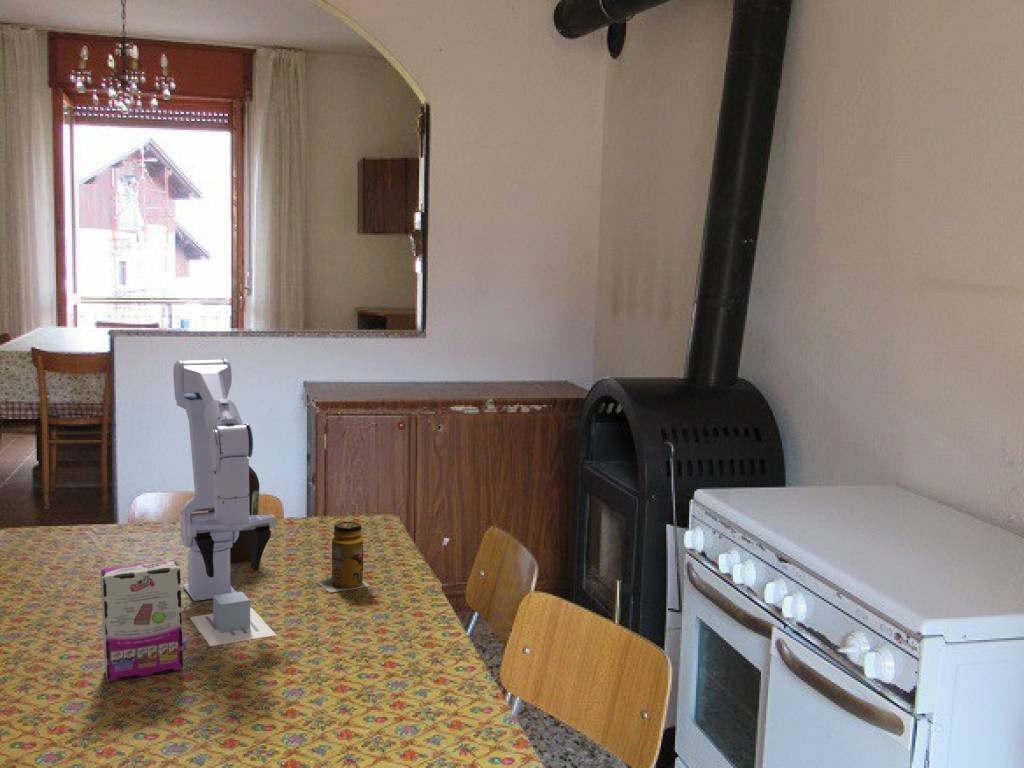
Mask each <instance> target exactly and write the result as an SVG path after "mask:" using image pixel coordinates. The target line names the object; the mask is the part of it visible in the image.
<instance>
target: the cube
mask: <svg viewBox="0 0 1024 768" xmlns="http://www.w3.org/2000/svg"><path fill="white" fill-rule="evenodd" d="M250 608H251V599H249V597H248V596H247V595H246V594H245V593H244V592H243V591H236V592H235V593H228V594H222V595H215V596H213V599H212V611H213V612H212V614H213V624H214V625H215V626H216V627H217V629H218V630H219V631H220V632H221V633H224V632H231V631H237V630H243V629H249V628H250Z"/></svg>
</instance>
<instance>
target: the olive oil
mask: <svg viewBox="0 0 1024 768" xmlns="http://www.w3.org/2000/svg"><path fill="white" fill-rule="evenodd" d="M259 501H260V481H259V477H258V475H257V473H256V471H255V470H254V469H253V468H252V467H251V466H250V465H249V516H253V515H259V506H260V504H259V503H260V502H259ZM207 512H215V510H210V511H207ZM232 546H233V547H230V564H236V563H243V562H249V561H251V537H250V530H242V531H239V537H238V539H237V540H236V542H235V543H232Z"/></svg>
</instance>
